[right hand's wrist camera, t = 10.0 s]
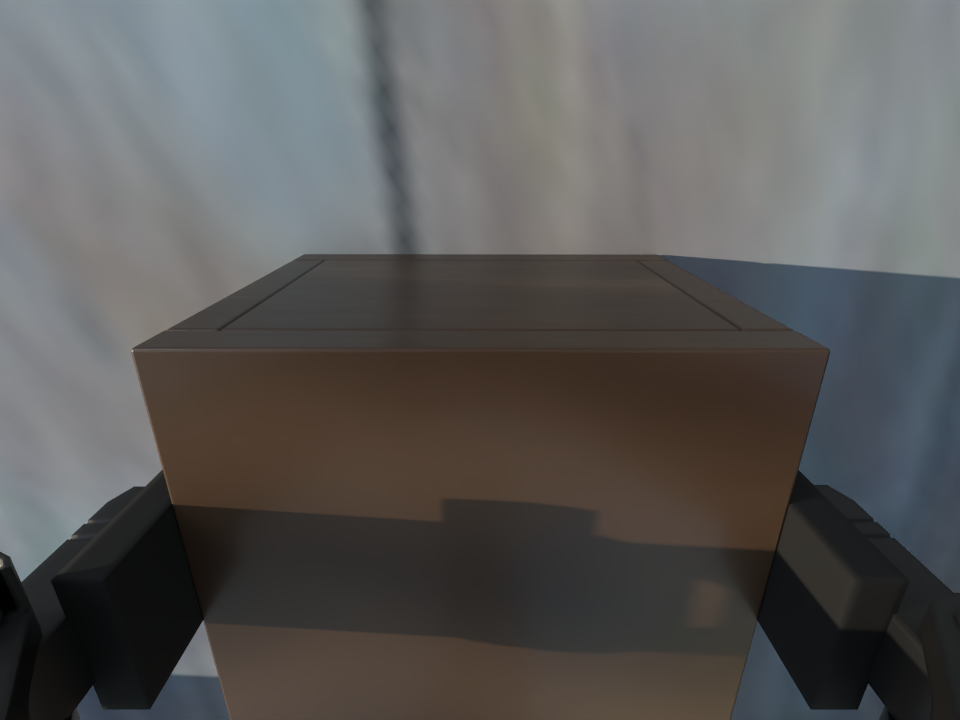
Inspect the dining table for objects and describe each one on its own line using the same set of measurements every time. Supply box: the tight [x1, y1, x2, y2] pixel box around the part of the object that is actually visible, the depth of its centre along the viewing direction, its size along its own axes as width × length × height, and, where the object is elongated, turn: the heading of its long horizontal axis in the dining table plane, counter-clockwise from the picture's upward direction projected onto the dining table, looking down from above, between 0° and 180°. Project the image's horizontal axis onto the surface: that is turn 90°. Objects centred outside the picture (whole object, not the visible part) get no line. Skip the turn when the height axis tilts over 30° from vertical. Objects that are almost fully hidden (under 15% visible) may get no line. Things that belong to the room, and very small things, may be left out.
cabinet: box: [131, 254, 830, 720], centre depth 15 cm, size 22×11×8 cm, turn 0°
